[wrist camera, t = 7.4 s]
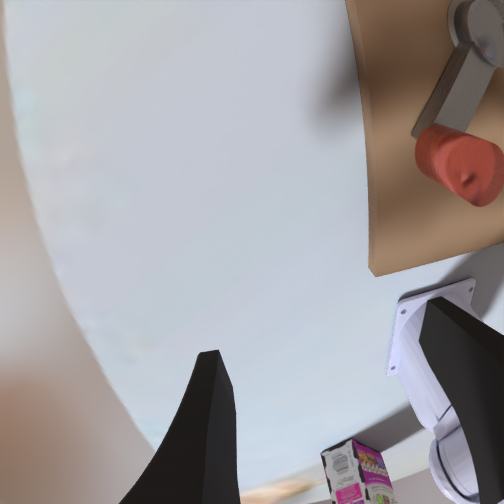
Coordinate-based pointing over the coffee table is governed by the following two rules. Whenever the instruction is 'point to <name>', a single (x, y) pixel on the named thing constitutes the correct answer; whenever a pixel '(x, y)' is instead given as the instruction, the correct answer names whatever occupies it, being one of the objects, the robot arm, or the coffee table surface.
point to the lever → (464, 109)
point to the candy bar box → (357, 475)
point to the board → (403, 144)
